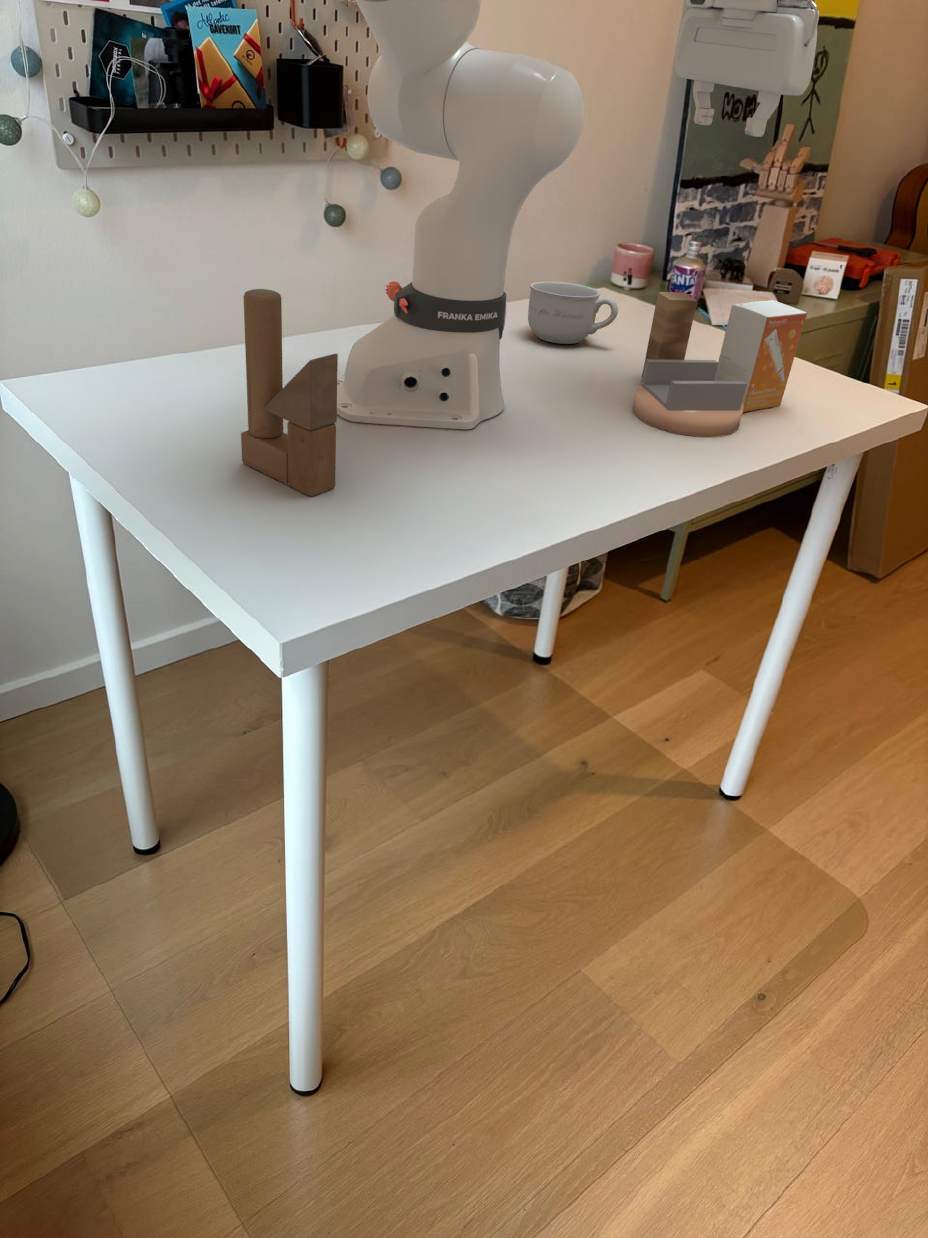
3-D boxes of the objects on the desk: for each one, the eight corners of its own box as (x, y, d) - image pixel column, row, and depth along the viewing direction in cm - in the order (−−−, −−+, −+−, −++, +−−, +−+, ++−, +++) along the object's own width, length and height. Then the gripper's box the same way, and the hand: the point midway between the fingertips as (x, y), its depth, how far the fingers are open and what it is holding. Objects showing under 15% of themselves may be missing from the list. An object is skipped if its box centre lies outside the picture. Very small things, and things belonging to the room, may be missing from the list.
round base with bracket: (657, 437, 118) (667, 390, 115) (616, 396, 129) (624, 352, 126) (758, 436, 121) (770, 390, 118) (710, 396, 133) (720, 354, 129)
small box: (742, 414, 128) (767, 316, 121) (708, 397, 132) (730, 302, 125) (782, 406, 132) (809, 311, 125) (747, 391, 136) (772, 298, 129)
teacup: (511, 337, 148) (517, 284, 144) (546, 324, 156) (553, 273, 151) (589, 360, 142) (598, 305, 138) (622, 345, 150) (631, 293, 145)
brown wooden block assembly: (310, 498, 96) (310, 318, 86) (240, 464, 101) (233, 290, 91) (337, 488, 98) (340, 312, 88) (267, 454, 104) (263, 285, 94)
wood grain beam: (652, 386, 134) (670, 299, 128) (641, 376, 137) (658, 291, 131) (678, 386, 135) (697, 300, 129) (667, 376, 138) (684, 292, 132)
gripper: (843, -1, 101) (808, 143, 109) (719, -9, 116) (695, 119, 123) (799, -6, 98) (766, 142, 106) (678, -13, 113) (656, 117, 121)
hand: (727, 129), depth 115 cm, fingers open, 8 cm apart
